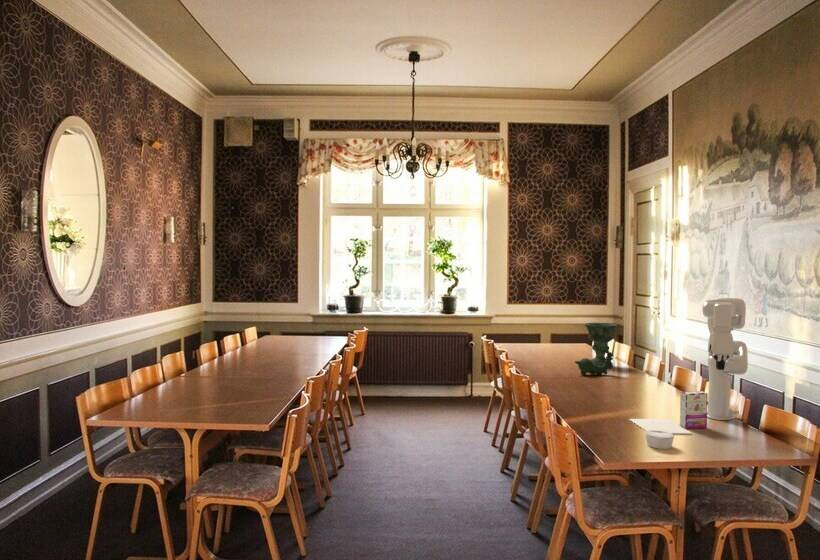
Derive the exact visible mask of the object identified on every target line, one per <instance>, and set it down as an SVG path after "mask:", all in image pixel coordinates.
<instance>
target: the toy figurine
mask: <svg viewBox="0 0 820 560" xmlns="http://www.w3.org/2000/svg"><path fill="white" fill-rule="evenodd" d="M609 350H610V349H609ZM609 350H608V349H602V350H601V351H600V352H602V351H604V352H605V354H606V356H605V358H606V360H605V363H604V364H603V365H602V366H600V365H596V364H594V363H593V362H592V361H591V359H590V358H587V357H585V358H582V359H580V360H575V361H574V363H575V364H576V365H578V369H579V370H580V374H581V376H585V375H586V374H588V373H589V374H590V375H592V376H596V375H598V376H600V377H601V376H602V375H603V374H604V375H608V370H612V368H613V367H610V365H611V364H613V362H612V361H613V359H614V358H613V356H614V353H613V352H611V351H609Z"/></svg>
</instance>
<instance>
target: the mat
mask: <svg viewBox="0 0 820 560" xmlns="http://www.w3.org/2000/svg"><path fill="white" fill-rule="evenodd" d="M629 420H630V421H629ZM628 421H629V422H631V421H632V422H633V423H632V422H631V423H632V424H634V423H635V424H636V425H635V424H634V425H635V426H637V425H638V426H639V428H640V427H641V428H642V430H643V429H644V430H645V431H644V430H643V431H644V432H646V431H651V430H656V431H664V432H668V433H671V434H673V435H693V433H692V432H691V431H689V430H687V429H685V428H683V427H680V424H679V425H678V424H677V423H675V422H673V421H672V420H670V419H668V418H629V419H628ZM638 426H637V427H638ZM641 428H640V429H641Z"/></svg>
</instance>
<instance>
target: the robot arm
mask: <svg viewBox="0 0 820 560" xmlns="http://www.w3.org/2000/svg"><path fill="white" fill-rule="evenodd" d="M701 311H702V314H703V316H704V317H706V318H707V320H706V321H707V328H708V331H709V339H708V345H707V352H708V358H707V366H708V396H707V419H711V420H716V421H718V420H719V421H731V420H733V415H739V414H740V410H737V409H732V408H730V406H731V405H730V404H731V381H730V380H729V378H728V377H727V375H728V374H729V375H745V374H746V373H747V371H748V368H749V366H748V365H749V359H748V358H749V357H748V347H747V344H746V342H744V341H740V340H734V338H733V334H732V331H734V330H740V329H743V328H744V327H745V325H746V312H747V307H746V302H745V301H744V299H743V298H738V297H736V298H734V297H733V298H732V297H720V298H717V299H710V300H709V299H708V300H707V299H706V300H704V302H703V303H702V309H701ZM726 374H727V375H726Z"/></svg>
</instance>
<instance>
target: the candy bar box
mask: <svg viewBox="0 0 820 560" xmlns="http://www.w3.org/2000/svg"><path fill="white" fill-rule="evenodd" d="M679 396H680V399H679V400H680V401H679V402H680V403H679V405H680V406H679V407H680V408H679V426H681V427H682V428H684V429H686V430H687V429H688V430H690V429H706V428H708V417H707V412H708V392H705V391H702V390H698V391H697V390H693V391H680V395H679Z"/></svg>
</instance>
